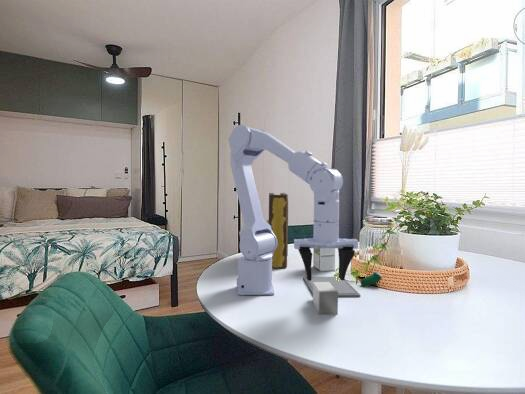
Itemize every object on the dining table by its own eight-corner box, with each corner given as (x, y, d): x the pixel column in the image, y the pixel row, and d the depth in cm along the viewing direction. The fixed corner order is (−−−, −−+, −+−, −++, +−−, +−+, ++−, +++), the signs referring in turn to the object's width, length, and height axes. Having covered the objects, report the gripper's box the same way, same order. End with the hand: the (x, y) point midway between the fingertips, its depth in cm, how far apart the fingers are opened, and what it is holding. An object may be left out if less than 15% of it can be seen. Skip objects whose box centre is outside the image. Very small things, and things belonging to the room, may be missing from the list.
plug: (319, 314, 67) (319, 292, 66) (310, 298, 76) (310, 278, 76) (337, 314, 67) (338, 291, 67) (326, 298, 76) (326, 278, 76)
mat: (314, 297, 77) (314, 294, 77) (303, 278, 92) (303, 276, 92) (360, 296, 77) (360, 294, 77) (342, 278, 92) (342, 276, 92)
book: (290, 269, 102) (291, 195, 100) (265, 268, 102) (266, 194, 101) (286, 253, 124) (287, 192, 123) (265, 253, 124) (266, 192, 123)
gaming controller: (369, 293, 85) (385, 280, 84) (359, 283, 85) (375, 269, 84) (364, 282, 94) (379, 270, 93) (356, 273, 94) (371, 261, 93)
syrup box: (335, 270, 100) (336, 227, 100) (319, 271, 99) (320, 227, 98) (327, 265, 106) (328, 224, 105) (312, 266, 105) (313, 225, 104)
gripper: (297, 223, 65) (297, 285, 65) (363, 223, 66) (362, 284, 66) (292, 219, 72) (292, 275, 73) (352, 219, 73) (351, 274, 73)
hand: (325, 279), depth 70 cm, fingers open, 7 cm apart
